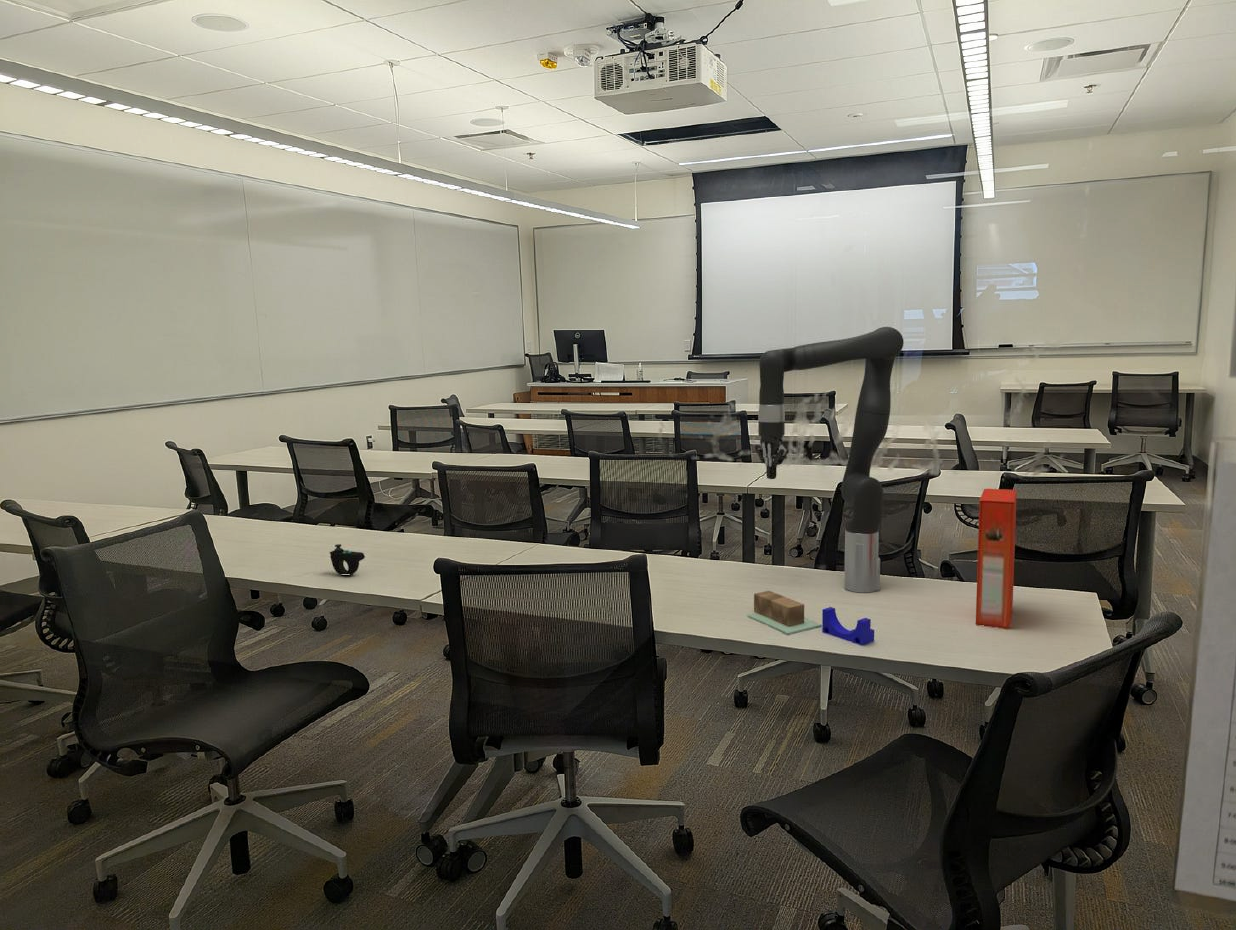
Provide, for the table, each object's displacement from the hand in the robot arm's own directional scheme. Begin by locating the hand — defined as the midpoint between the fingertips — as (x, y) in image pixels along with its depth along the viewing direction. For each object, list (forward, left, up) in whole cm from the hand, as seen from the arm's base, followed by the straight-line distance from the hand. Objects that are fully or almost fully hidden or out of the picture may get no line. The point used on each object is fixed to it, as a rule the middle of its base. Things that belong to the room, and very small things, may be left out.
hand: (771, 478), depth 236 cm
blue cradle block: (-11, +44, -32) cm, 56 cm away
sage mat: (+2, +33, -32) cm, 46 cm away
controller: (+134, -18, -32) cm, 139 cm away
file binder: (-52, +32, -32) cm, 69 cm away
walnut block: (+7, +25, -29) cm, 39 cm away
